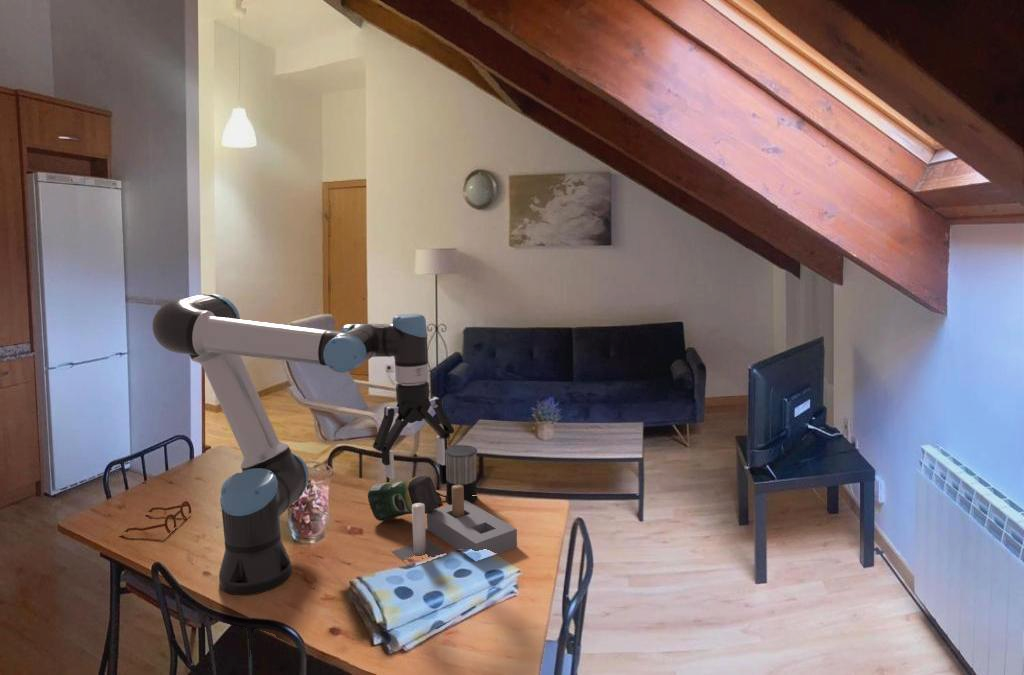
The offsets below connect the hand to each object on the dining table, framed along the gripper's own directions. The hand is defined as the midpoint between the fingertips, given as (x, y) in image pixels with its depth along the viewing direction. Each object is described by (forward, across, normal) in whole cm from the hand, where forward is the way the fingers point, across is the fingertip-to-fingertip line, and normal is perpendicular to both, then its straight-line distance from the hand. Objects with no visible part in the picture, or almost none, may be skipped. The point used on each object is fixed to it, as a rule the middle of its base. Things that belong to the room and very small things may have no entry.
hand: (416, 470), depth 159 cm
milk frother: (+21, +22, +21) cm, 37 cm away
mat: (+21, 0, 0) cm, 21 cm away
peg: (+20, 0, 0) cm, 21 cm away
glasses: (+21, -46, +58) cm, 77 cm away
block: (+21, +14, -2) cm, 25 cm away
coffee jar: (+16, +2, +25) cm, 30 cm away
